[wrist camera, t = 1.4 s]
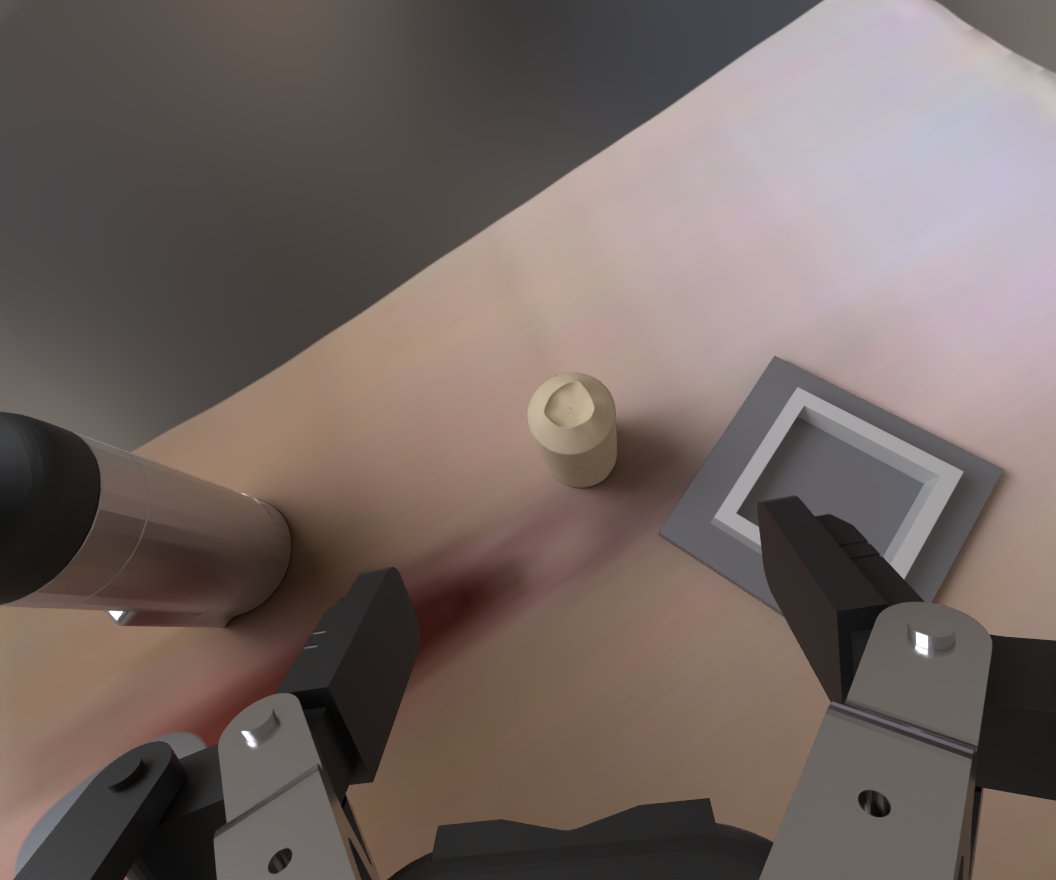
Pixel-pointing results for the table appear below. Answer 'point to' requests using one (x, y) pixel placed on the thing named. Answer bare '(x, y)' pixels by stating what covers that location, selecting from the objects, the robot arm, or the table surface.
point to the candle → (575, 428)
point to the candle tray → (830, 482)
